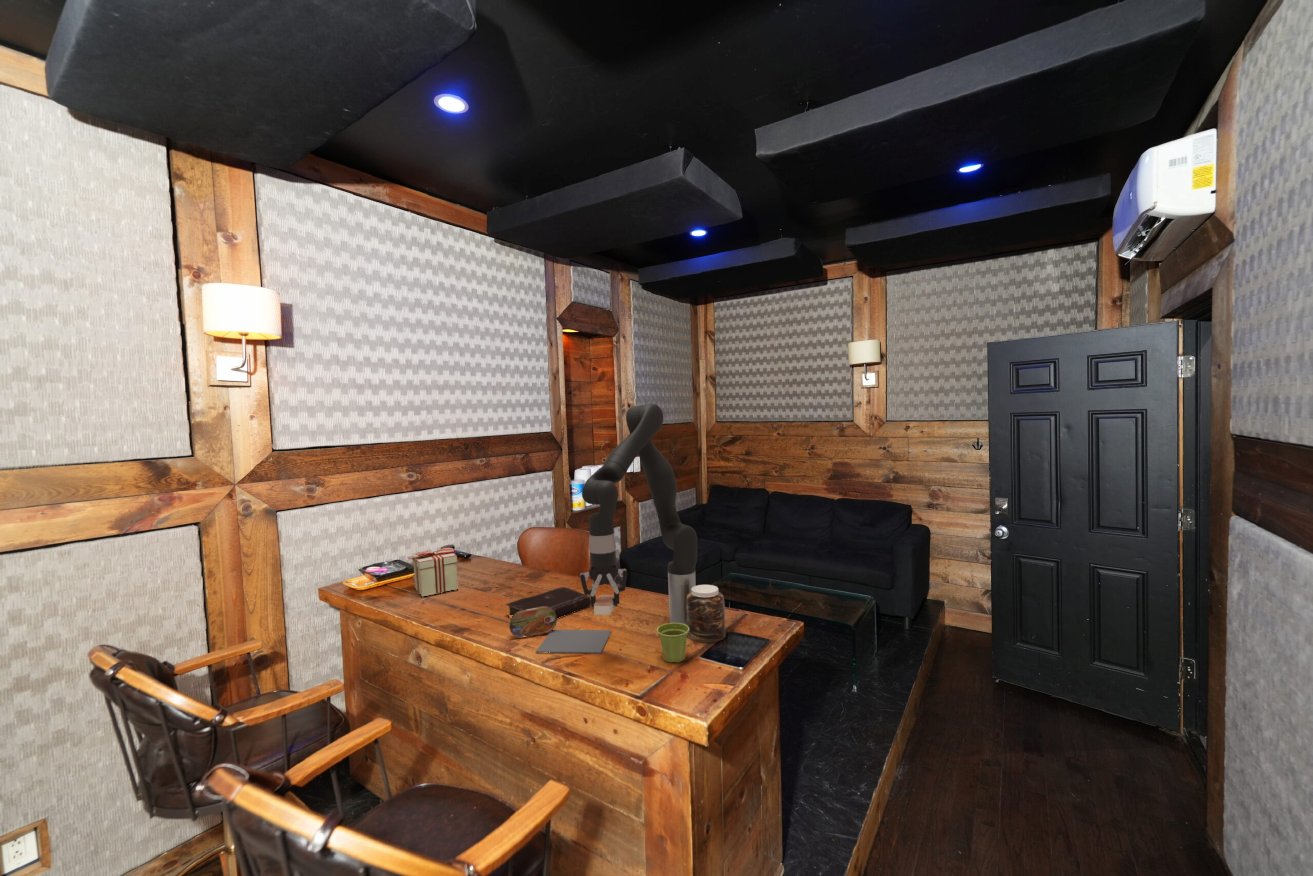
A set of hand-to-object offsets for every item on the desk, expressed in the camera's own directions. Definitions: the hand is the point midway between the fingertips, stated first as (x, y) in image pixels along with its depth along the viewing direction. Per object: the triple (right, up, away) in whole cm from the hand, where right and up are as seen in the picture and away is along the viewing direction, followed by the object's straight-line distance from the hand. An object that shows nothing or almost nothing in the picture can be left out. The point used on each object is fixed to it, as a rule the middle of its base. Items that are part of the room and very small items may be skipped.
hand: (605, 606), depth 153 cm
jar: (+31, -14, +14) cm, 37 cm away
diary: (-25, -15, +41) cm, 50 cm away
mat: (-11, -15, +13) cm, 23 cm away
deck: (0, -1, 0) cm, 1 cm away
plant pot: (+20, -15, -1) cm, 25 cm away
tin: (-25, -15, +20) cm, 35 cm away
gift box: (-80, -16, +71) cm, 108 cm away
